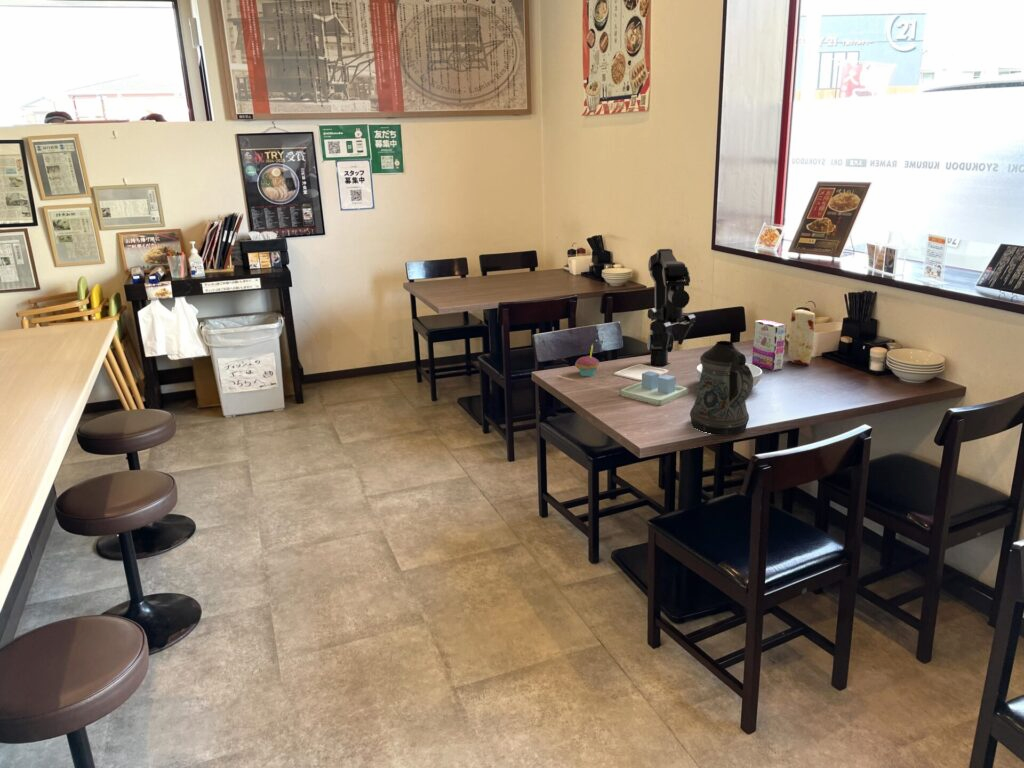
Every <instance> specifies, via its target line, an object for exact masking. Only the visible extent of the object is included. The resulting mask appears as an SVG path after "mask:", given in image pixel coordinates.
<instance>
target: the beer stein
mask: <svg viewBox="0 0 1024 768" xmlns="http://www.w3.org/2000/svg"><path fill="white" fill-rule="evenodd" d="M734 345H735V344H734V343H733V341H729V340H719V341H716V342H715V344H714V345H713V346H712V347H710V348H708V350H706V351H705V352H703V353H702V354H701V356H700V359H699V361H700V364H702V372H701V377H700V380H699V383H698V388H697V394H696V397H695V399H694V400H695V401H694V403H693V406H692V408H691V409H690V412H689V418H690V424H692V425H691V426H692V427H693V429H694V428H696V429H698V430H697V431H699V430H700V431H699V432H701V431H703V432H707V433H706V434H708V433H711V434H710V435H715V436H716V435H717V436H731V435H737V434H741V433H742V432H744V431H746V429H747V426H748V423H749V420H750V415H749V412H748V409H747V403H746V402H747V399H748V398H749V397H750V395H751V393H752V391H753V388H754V387H753V376H752V373H751V371H750V369H749V367H748V366H747V365H745V363H747V358H746V356H745V354H743V353H742V352H741V351H739V349H737V348H736V346H734ZM752 387H753V388H752ZM696 429H695V430H696ZM703 432H702V433H703Z"/></svg>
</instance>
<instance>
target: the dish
mask: <svg viewBox="0 0 1024 768" xmlns="http://www.w3.org/2000/svg"><path fill="white" fill-rule="evenodd" d="M648 371H652V372H656V373H659V377H660V376H663V375H666V374H668V373H669V372H670V370H669V369H664V368H662V367H657V366H652V365H648V364H647V365H646V364H643V363H637V364H634V365H631V366H629V367H626V368H623V369H621V370H618V371H615V372H613V373H612V375H613V376H616V377H621V378H626V379H630V380H634V381H638V382H641V381H642V373H645V372H648Z"/></svg>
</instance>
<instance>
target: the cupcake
mask: <svg viewBox="0 0 1024 768" xmlns="http://www.w3.org/2000/svg"><path fill="white" fill-rule="evenodd" d="M590 346H591V347H590V354H589V355H586V356H581V357H579V358H578V359H576V360H575V364H574V365H575V367H576V368H577V369H578V371H579V375H580V376H583V377H593V376H595V374H596V371H597V369H598V368H599V367H600V360H599V359H597V358H596V357H594V356H593V350H594V344H592V345H590Z"/></svg>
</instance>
